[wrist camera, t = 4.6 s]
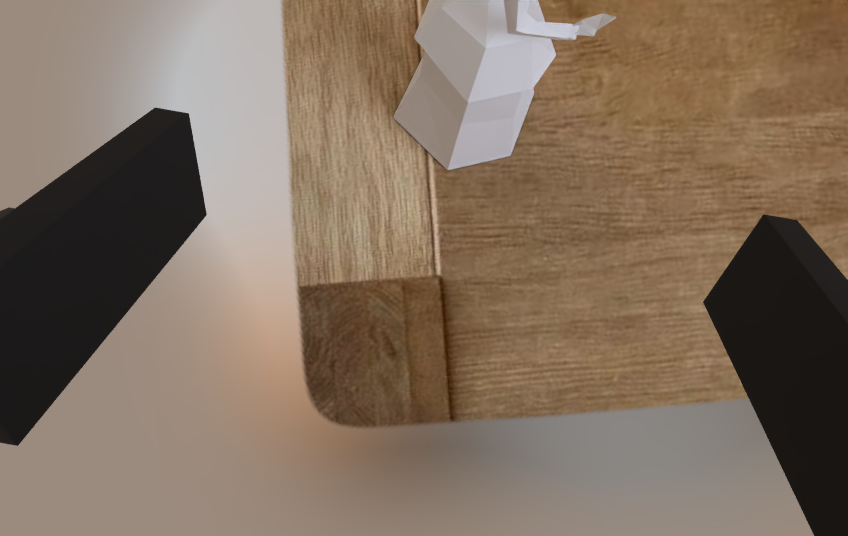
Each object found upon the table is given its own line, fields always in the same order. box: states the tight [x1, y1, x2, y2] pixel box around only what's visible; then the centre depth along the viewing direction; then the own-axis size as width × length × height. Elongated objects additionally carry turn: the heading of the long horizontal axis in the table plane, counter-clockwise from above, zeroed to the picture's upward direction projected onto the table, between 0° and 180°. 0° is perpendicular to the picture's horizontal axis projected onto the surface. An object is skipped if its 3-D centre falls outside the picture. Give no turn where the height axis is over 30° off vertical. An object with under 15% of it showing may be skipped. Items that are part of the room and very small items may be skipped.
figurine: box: [393, 0, 617, 170], centre depth 19 cm, size 7×8×18 cm
